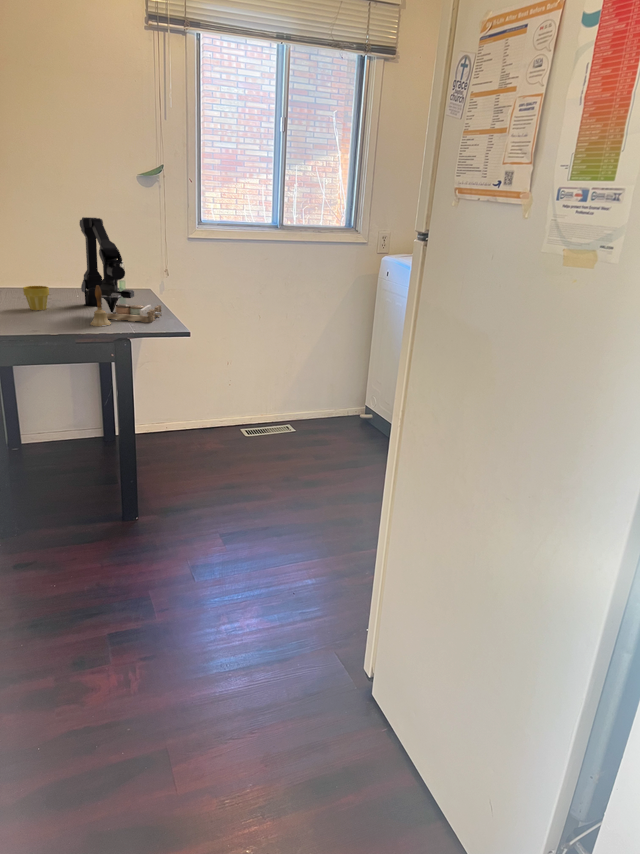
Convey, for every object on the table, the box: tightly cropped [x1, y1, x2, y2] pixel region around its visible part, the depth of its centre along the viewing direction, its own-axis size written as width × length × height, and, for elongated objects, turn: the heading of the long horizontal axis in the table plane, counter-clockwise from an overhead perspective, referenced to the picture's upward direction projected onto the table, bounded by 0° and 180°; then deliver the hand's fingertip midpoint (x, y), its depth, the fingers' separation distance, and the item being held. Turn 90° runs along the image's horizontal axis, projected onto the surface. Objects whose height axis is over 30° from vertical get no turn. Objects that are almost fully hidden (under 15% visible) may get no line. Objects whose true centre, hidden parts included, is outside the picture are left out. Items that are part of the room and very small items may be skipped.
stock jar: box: [130, 304, 145, 315], centre depth 272 cm, size 6×6×5 cm
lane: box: [106, 304, 162, 323], centre depth 272 cm, size 21×16×5 cm
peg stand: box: [140, 304, 162, 316], centre depth 272 cm, size 7×13×4 cm, turn 178°
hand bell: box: [90, 285, 112, 327], centre depth 253 cm, size 8×8×16 cm
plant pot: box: [22, 285, 50, 311], centre depth 274 cm, size 10×10×10 cm
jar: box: [115, 303, 131, 315], centre depth 272 cm, size 6×6×5 cm
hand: (112, 312), depth 272 cm, fingers closed
